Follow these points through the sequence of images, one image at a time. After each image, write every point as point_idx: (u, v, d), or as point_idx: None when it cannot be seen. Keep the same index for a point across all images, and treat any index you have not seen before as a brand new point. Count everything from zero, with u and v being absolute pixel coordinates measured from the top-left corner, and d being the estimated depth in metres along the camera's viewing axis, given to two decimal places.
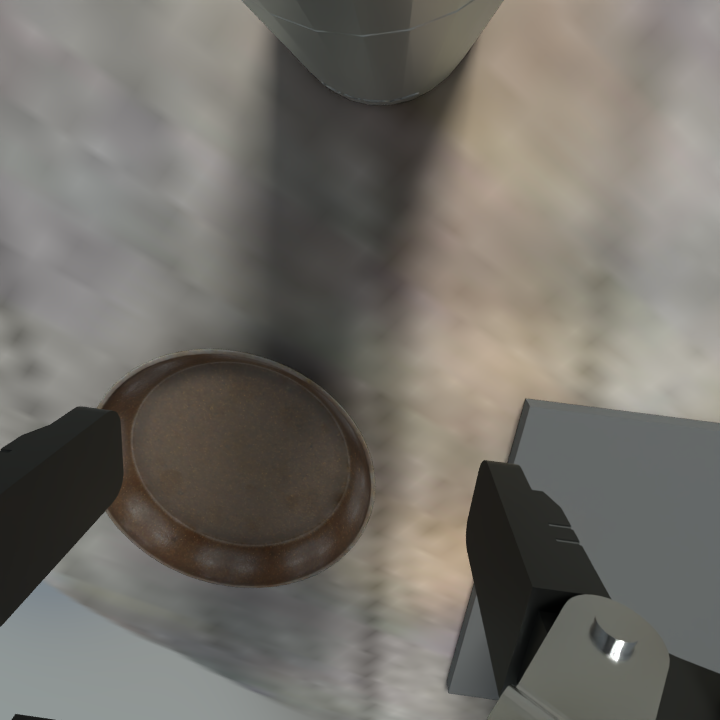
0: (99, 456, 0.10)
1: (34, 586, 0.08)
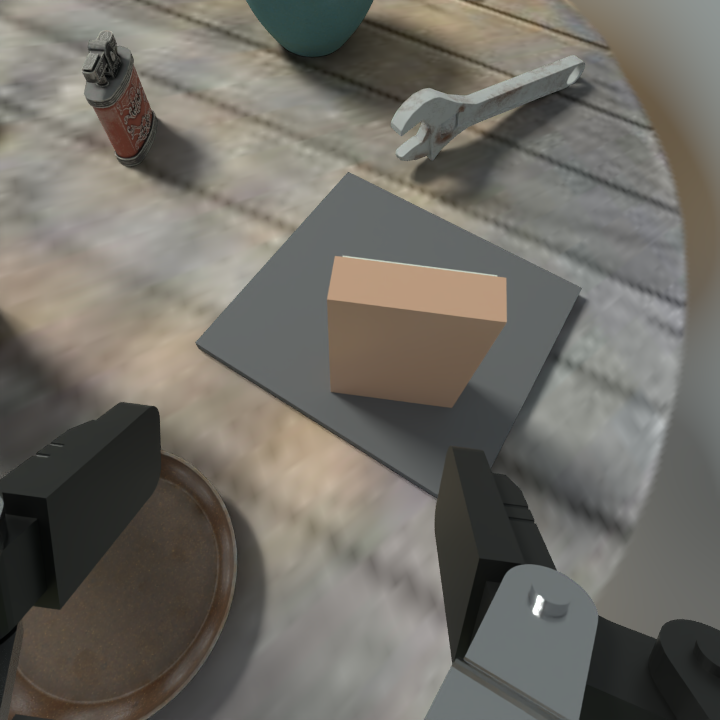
0: (142, 450, 0.10)
1: (87, 573, 0.09)
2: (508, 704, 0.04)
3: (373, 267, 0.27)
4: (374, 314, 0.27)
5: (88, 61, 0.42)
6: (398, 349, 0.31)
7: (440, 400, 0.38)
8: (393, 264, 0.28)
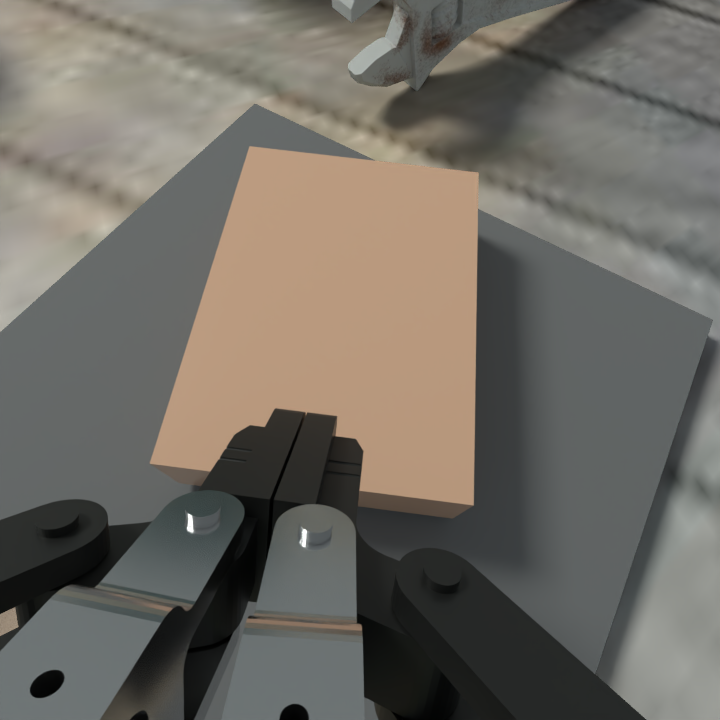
0: None
1: None
2: (300, 634, 0.05)
3: None
4: (307, 168, 0.20)
5: None
6: (337, 248, 0.18)
7: (437, 459, 0.15)
8: None
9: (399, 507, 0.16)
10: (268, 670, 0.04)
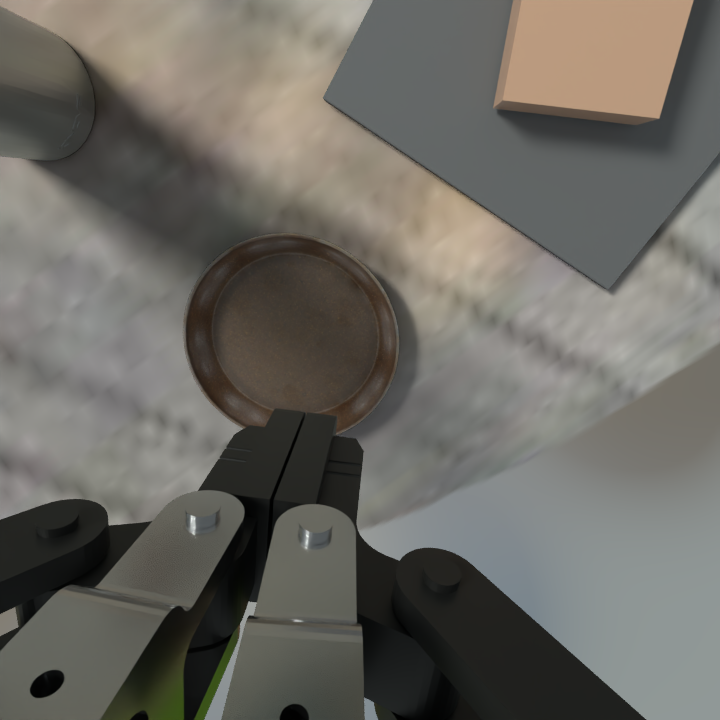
0: None
1: None
2: (301, 633, 0.05)
3: None
4: None
5: None
6: None
7: (647, 94, 0.30)
8: None
9: (612, 119, 0.32)
10: (268, 670, 0.04)
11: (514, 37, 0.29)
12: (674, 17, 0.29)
